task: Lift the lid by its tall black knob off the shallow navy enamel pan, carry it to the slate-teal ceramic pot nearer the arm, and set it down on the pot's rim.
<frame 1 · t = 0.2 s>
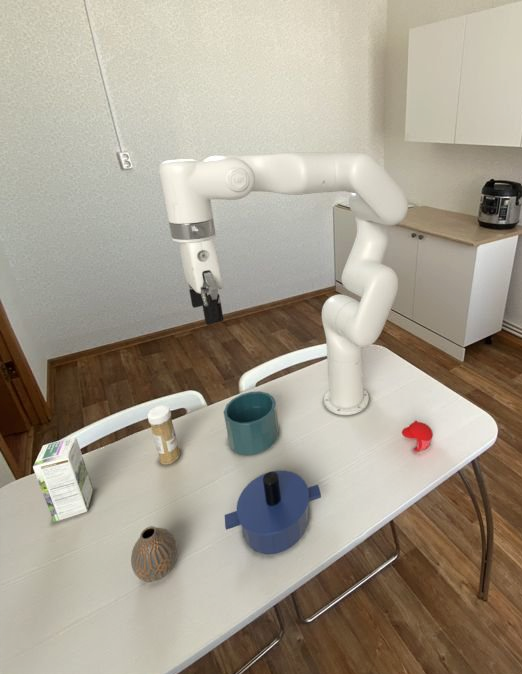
hand: (207, 313, 76), 37 cm above the table, tool pointing down, fingers open, 9 cm apart
syrup box: (75, 506, 78), on the table
spice jar: (170, 458, 89), on the table
pan: (276, 521, 74), on the table
pot: (254, 436, 95), on the table
lid: (273, 501, 72), point 5 cm above the table, touching pan
vase: (159, 568, 67), on the table
red rounded piece: (416, 445, 92), on the table
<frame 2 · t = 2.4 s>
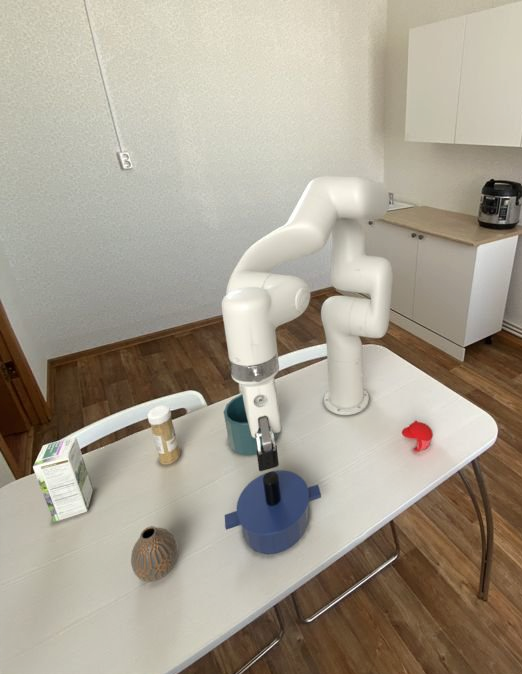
hand: (264, 447, 67), 19 cm above the table, tool pointing down, fingers open, 9 cm apart
nothing on the table moved.
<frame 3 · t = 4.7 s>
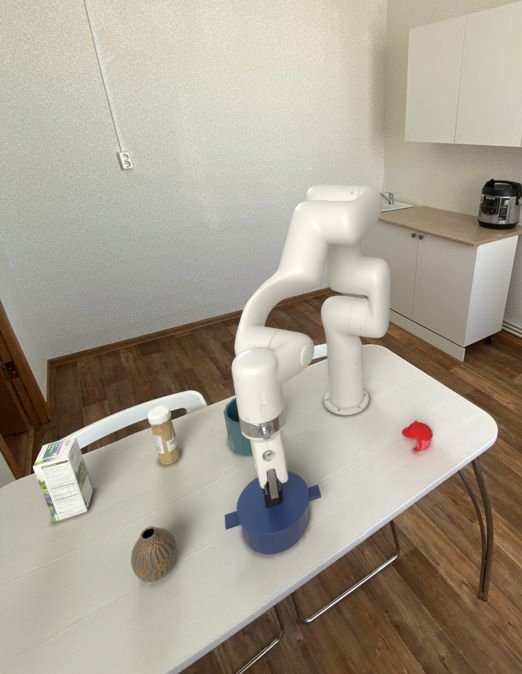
hand: (272, 495, 72), 7 cm above the table, tool pointing down, fingers closed on lid, 2 cm apart
lid: (273, 501, 72), point 5 cm above the table, touching gripper, pan
everything else where it was.
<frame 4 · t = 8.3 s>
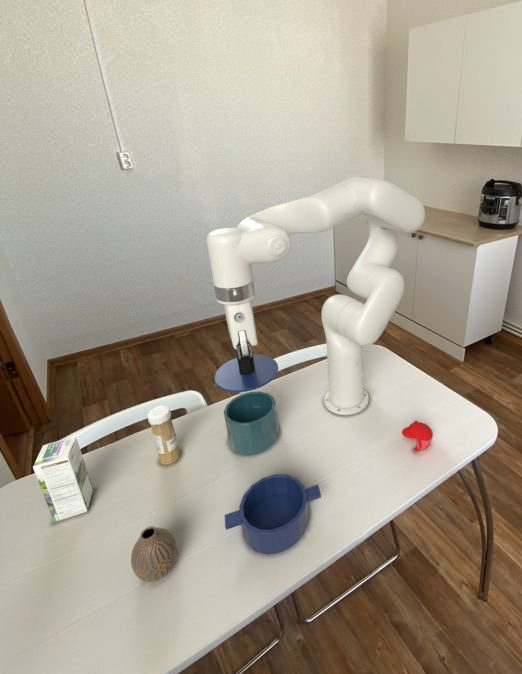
hand: (246, 367, 83), 23 cm above the table, tool pointing down, fingers closed on lid, 2 cm apart
lid: (247, 373, 84), point 22 cm above the table, touching gripper
everything else where it was.
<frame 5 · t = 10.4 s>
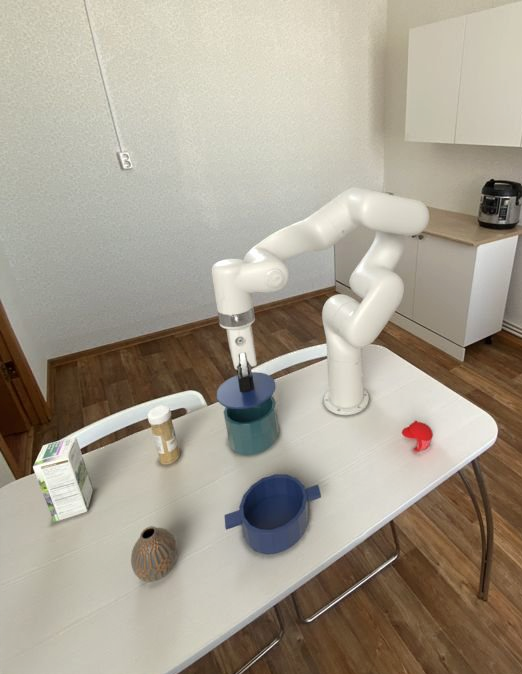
hand: (246, 385, 90), 15 cm above the table, tool pointing down, fingers closed on lid, 2 cm apart
lid: (246, 390, 90), point 14 cm above the table, touching gripper
everything else where it was.
when the fingers open (10 cm above the table, at t = 11.8 s): lid stays where it is, resting on pot.
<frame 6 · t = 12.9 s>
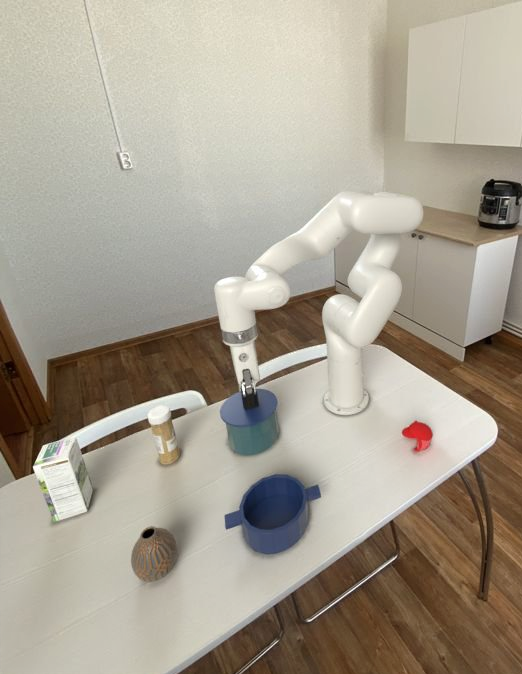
hand: (249, 395, 91), 12 cm above the table, tool pointing down, fingers open, 9 cm apart
lid: (249, 407, 92), point 9 cm above the table, touching pot
everything else where it was.
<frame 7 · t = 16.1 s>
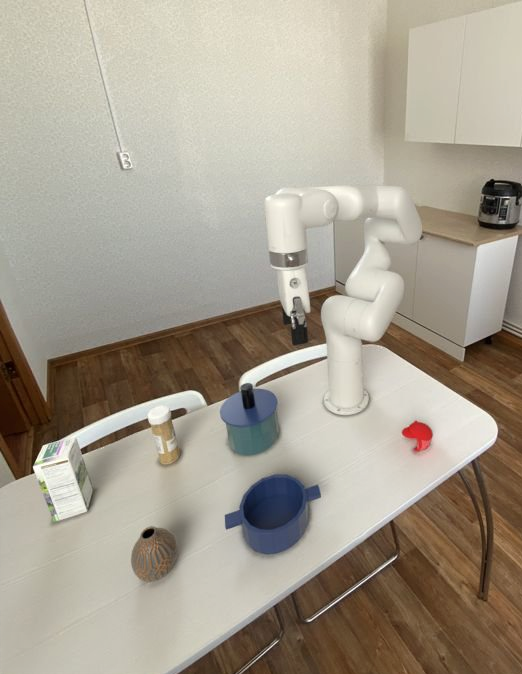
hand: (295, 332, 82), 30 cm above the table, tool pointing down, fingers open, 9 cm apart
nothing on the table moved.
at the end: lid 0.1 cm off-centre on the pot, point 9.0 cm above the pot's base; lid tilted 0°; the gripper is holding nothing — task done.
